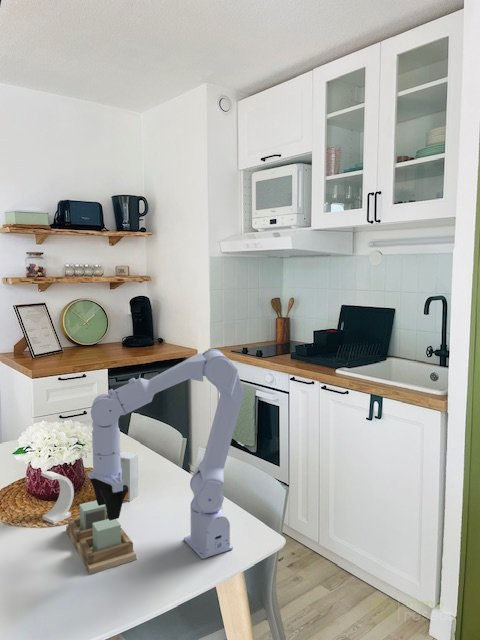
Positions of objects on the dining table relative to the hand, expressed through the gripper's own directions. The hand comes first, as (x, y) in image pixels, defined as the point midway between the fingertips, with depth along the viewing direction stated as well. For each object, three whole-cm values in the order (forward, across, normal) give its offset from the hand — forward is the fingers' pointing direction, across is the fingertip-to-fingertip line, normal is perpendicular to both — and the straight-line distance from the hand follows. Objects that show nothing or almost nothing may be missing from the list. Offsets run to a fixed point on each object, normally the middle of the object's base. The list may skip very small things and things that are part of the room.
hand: (108, 511), depth 111 cm
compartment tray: (+10, -5, -1) cm, 11 cm away
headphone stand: (+10, -23, -6) cm, 26 cm away
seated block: (+9, -10, -1) cm, 13 cm away
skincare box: (+10, -25, +12) cm, 30 cm away
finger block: (+9, 0, 0) cm, 9 cm away
